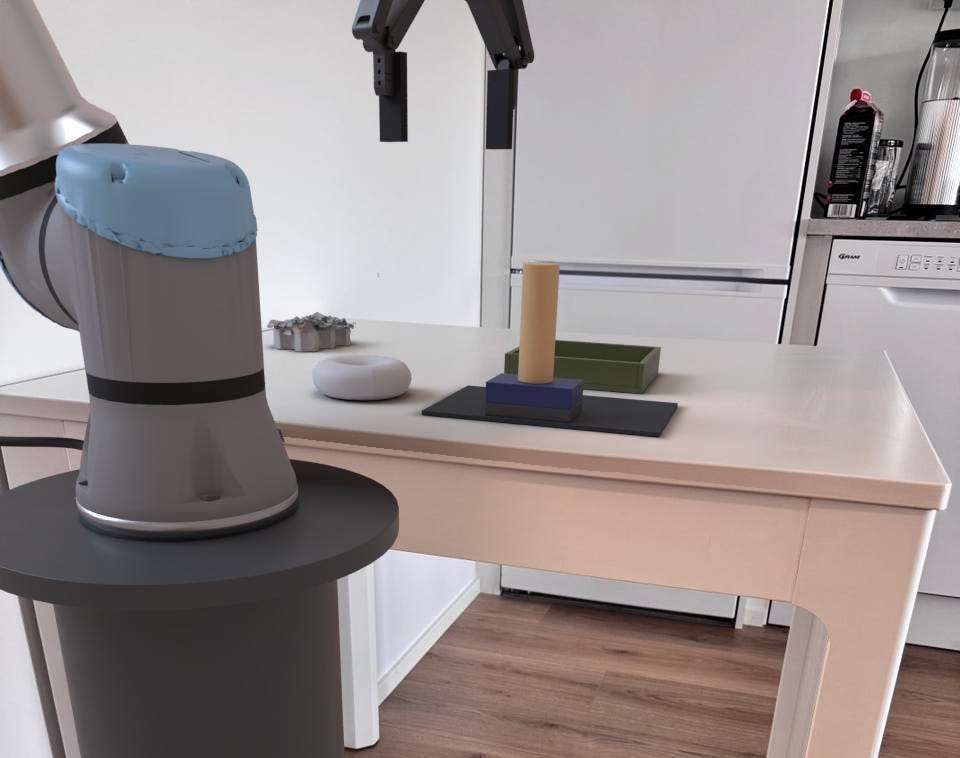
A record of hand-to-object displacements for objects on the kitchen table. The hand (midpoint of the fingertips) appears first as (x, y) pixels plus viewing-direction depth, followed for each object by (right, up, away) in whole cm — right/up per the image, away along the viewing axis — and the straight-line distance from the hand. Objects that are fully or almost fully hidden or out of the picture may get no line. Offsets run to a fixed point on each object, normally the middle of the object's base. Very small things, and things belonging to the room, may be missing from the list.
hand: (449, 146), depth 86 cm
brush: (+8, -24, +2) cm, 25 cm away
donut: (-9, -20, +11) cm, 24 cm away
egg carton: (-19, -6, +39) cm, 44 cm away
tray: (+15, -15, +22) cm, 31 cm away
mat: (+10, -23, +6) cm, 25 cm away
